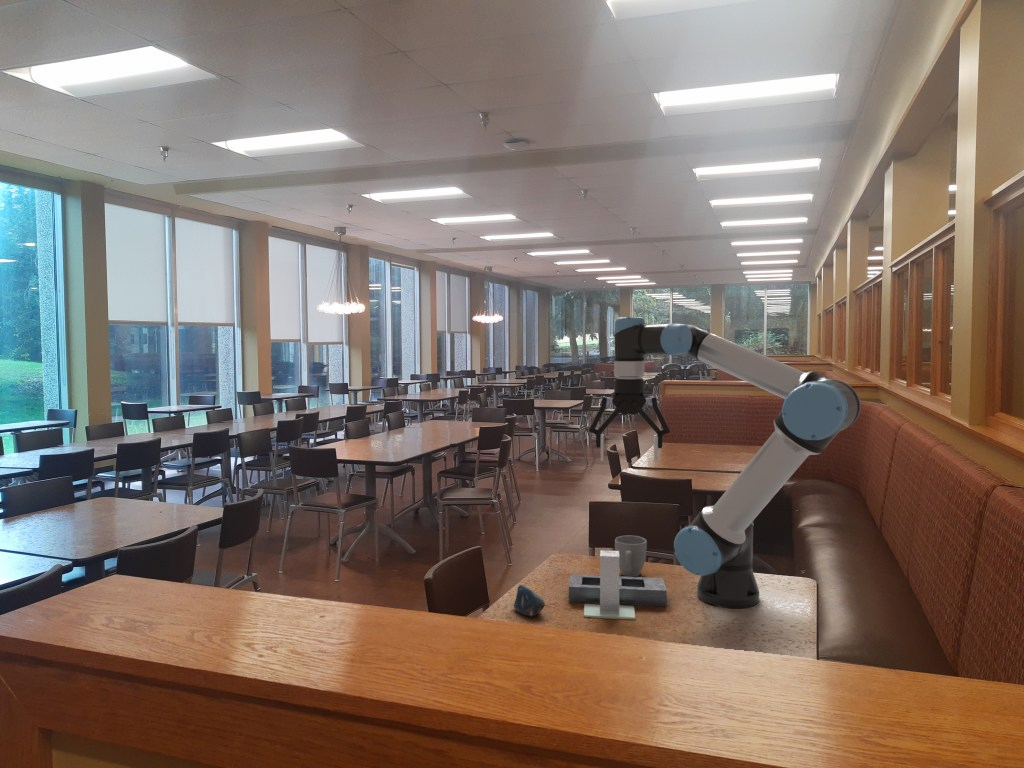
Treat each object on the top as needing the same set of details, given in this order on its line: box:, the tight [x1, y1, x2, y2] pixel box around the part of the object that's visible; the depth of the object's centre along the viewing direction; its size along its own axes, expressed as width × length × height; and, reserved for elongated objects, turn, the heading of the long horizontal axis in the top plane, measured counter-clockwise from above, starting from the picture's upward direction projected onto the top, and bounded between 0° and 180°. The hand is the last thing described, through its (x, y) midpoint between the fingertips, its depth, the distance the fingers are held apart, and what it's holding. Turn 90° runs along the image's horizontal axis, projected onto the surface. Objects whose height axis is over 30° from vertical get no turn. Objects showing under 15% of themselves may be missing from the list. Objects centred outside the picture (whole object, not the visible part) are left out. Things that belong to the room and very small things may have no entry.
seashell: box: [513, 584, 546, 617], centre depth 167 cm, size 6×9×10 cm
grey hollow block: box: [568, 574, 668, 607], centre depth 175 cm, size 24×9×4 cm, turn 82°
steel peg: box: [599, 549, 620, 615], centre depth 165 cm, size 4×4×14 cm
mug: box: [614, 534, 648, 577], centre depth 191 cm, size 12×9×10 cm
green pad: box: [583, 603, 636, 621], centre depth 165 cm, size 12×7×1 cm, turn 82°
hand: (628, 460), depth 176 cm, fingers open, 13 cm apart
